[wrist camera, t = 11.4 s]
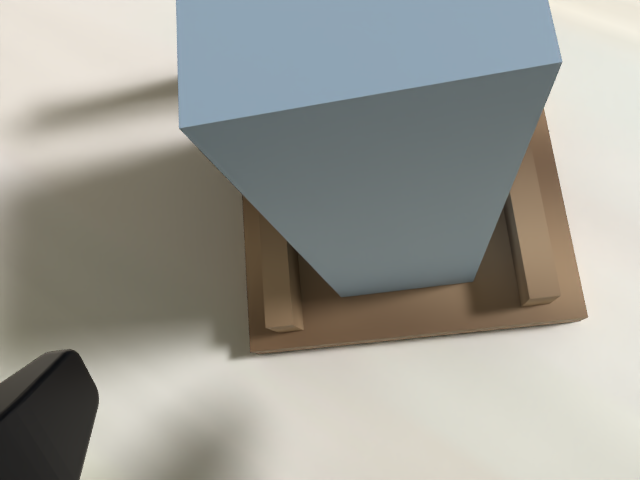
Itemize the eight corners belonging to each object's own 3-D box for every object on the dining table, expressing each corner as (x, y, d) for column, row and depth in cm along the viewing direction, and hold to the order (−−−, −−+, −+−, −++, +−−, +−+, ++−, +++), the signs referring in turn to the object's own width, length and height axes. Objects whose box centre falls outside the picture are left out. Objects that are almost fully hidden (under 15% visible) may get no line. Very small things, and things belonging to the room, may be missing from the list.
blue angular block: (472, 281, 17) (562, 62, 6) (341, 297, 18) (178, 128, 6) (439, 75, 19) (454, -405, 7) (321, 95, 19) (168, -319, 8)
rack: (579, 321, 17) (728, 253, 9) (259, 354, 19) (114, 323, 10) (514, 10, 20) (578, -272, 12) (243, 60, 22) (121, -155, 13)
